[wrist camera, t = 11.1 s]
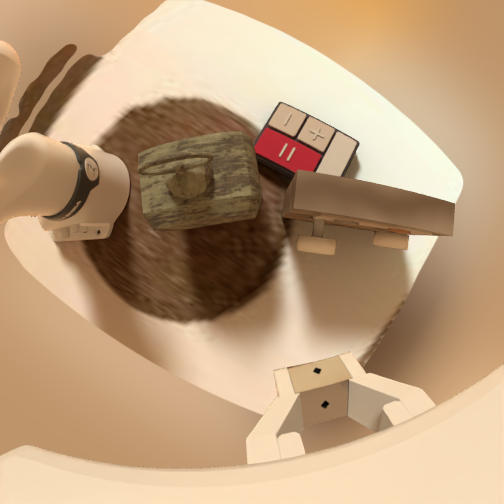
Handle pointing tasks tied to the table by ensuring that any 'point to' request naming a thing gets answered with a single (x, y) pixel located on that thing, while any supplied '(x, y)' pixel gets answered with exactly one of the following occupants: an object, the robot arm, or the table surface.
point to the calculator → (303, 144)
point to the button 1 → (316, 241)
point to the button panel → (365, 205)
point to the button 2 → (391, 239)
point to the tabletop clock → (200, 181)
